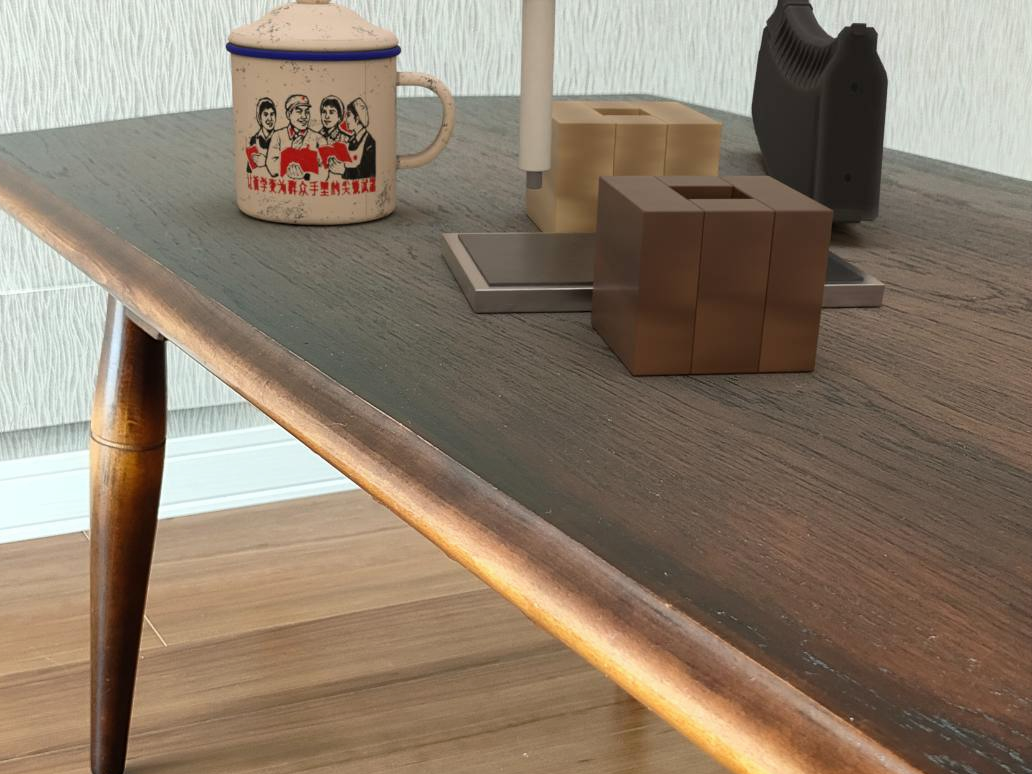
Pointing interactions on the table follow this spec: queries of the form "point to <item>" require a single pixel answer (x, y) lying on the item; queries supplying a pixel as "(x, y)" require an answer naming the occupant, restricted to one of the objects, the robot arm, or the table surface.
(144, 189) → the table surface
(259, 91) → the teacup with lid
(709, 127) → the pen stand
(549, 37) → the stylus
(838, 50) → the ribbed dark grey housing
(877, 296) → the shallow grey tray
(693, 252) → the stylus rest
